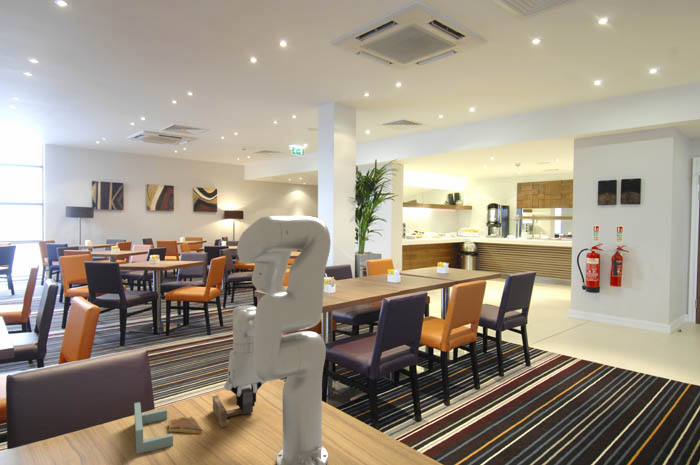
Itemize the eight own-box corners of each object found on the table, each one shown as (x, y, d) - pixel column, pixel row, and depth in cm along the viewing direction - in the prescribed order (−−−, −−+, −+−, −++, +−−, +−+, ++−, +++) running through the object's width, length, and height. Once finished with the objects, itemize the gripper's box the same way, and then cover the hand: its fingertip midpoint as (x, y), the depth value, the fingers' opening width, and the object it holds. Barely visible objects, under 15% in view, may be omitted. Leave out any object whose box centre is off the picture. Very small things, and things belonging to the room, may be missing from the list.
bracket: (173, 445, 108) (172, 422, 108) (136, 454, 104) (136, 430, 104) (166, 416, 124) (166, 397, 123) (134, 423, 119) (134, 403, 119)
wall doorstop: (257, 418, 121) (257, 396, 121) (221, 427, 116) (221, 404, 116) (245, 402, 133) (245, 382, 132) (212, 409, 128) (212, 388, 127)
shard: (202, 435, 114) (202, 429, 114) (173, 444, 109) (173, 437, 109) (192, 420, 123) (192, 414, 123) (164, 427, 118) (164, 421, 118)
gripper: (268, 339, 133) (268, 396, 133) (215, 347, 125) (216, 407, 125) (275, 345, 126) (275, 405, 127) (220, 354, 118) (221, 417, 119)
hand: (246, 405), depth 126 cm, fingers closed on wall doorstop, 3 cm apart
